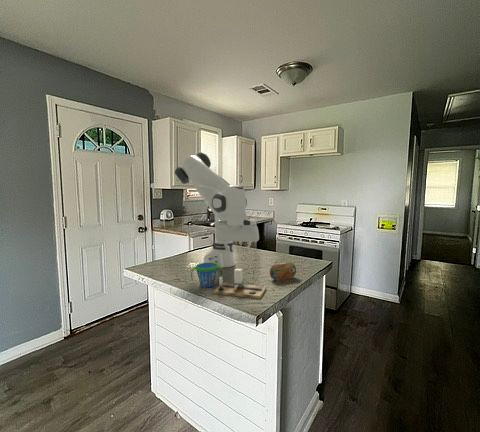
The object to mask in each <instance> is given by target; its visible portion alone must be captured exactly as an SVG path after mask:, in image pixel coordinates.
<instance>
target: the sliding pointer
mask: <svg viewBox="0 0 480 432" xmlns="http://www.w3.org/2000/svg"><path fill="white" fill-rule="evenodd" d="M243 271H244V270H243V268H235V269H234V271H233V272H234V277H233V278H234V281H233V282H232V283H233V287H234V291H237V287H242V286H243V285H245V281H244V280H243V278H244V277H243Z"/></svg>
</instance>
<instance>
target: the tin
mask: <svg viewBox="0 0 480 432" xmlns="http://www.w3.org/2000/svg"><path fill="white" fill-rule="evenodd" d="M296 274H297V268H296V265H295V264H294V263H292V262H281V263H276V264H275V263H274V264H273V265H272V266H271V267H270V269H269V276H270V278H271V279H272V280H274V281H276V282H279V281H284V280H290V279H293V278H294V277H295V276H296Z"/></svg>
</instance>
